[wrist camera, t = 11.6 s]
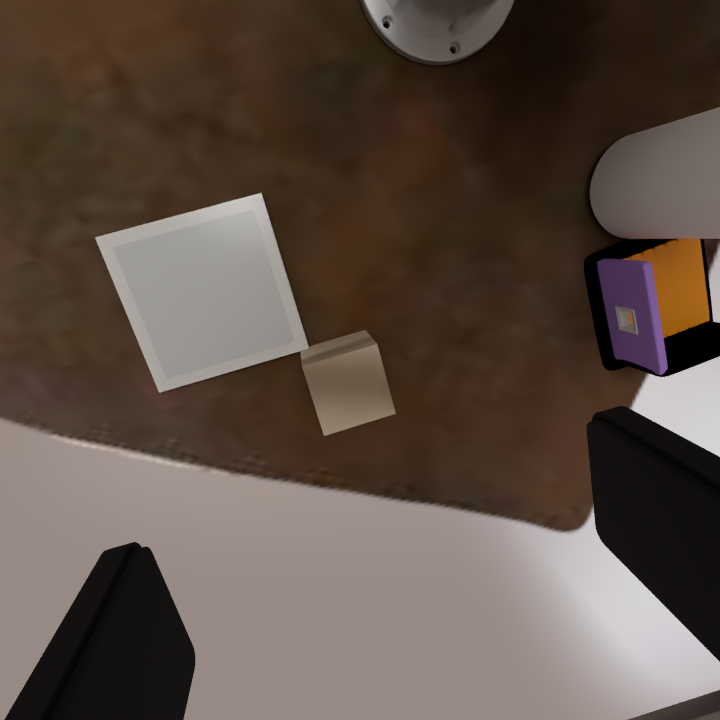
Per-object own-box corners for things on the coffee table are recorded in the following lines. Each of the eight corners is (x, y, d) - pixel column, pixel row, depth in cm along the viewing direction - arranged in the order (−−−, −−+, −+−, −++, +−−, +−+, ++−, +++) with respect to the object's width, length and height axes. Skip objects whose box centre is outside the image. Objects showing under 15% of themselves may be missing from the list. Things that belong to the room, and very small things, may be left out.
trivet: (101, 237, 37) (94, 237, 35) (262, 194, 38) (261, 192, 36) (162, 388, 40) (158, 393, 39) (308, 345, 41) (309, 348, 40)
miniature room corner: (602, 373, 47) (653, 395, 40) (579, 257, 43) (631, 260, 37) (710, 331, 47) (778, 346, 41) (695, 213, 44) (767, 208, 37)
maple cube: (377, 344, 36) (364, 329, 42) (302, 366, 36) (300, 349, 41) (395, 413, 38) (381, 390, 43) (324, 436, 37) (319, 409, 43)
